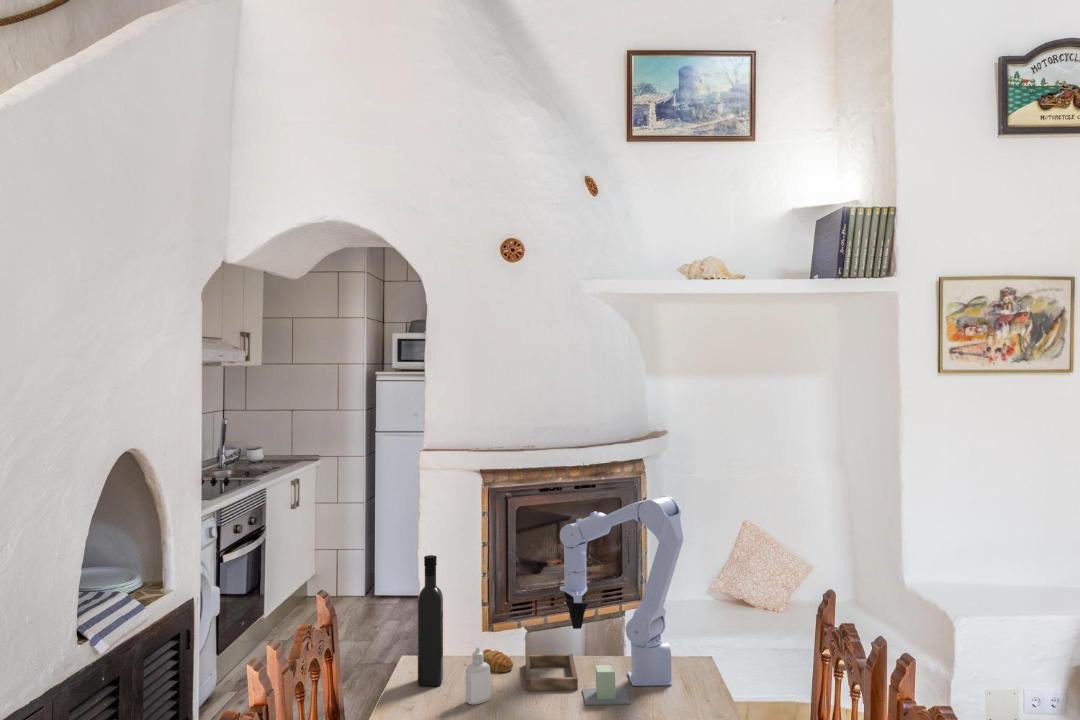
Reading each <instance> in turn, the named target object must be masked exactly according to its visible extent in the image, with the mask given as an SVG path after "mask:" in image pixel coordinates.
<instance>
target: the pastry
mask: <svg viewBox="0 0 1080 720" xmlns="http://www.w3.org/2000/svg"><path fill="white" fill-rule="evenodd" d="M482 652H483V662H485V663H487V664H489V666H490V672H493V673H494V672H495V673H507V672H509V671H510V670H512V669H513V666H514V662H513V661H512V660H511V658H510V657H508V655H506V654H504V652H502V651H499V650H497V649H495V650H492V649H488V648H486V649H484V650H483V651H482Z"/></svg>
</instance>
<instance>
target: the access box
mask: <svg viewBox="0 0 1080 720" xmlns="http://www.w3.org/2000/svg"><path fill="white" fill-rule="evenodd" d="M574 659H575V658H574V655H573V653H572V654H571V653H563V654H561V653H560V654H525V682H526V683H525V685H526V686H525V687H526V692H527V691H531V692H532V691H534V692H535V691H572V690H573V691H574V690H575V691H576V690H579V678H578V674H577V669H576V664H575V660H574ZM559 666H560V667H563V666H566V667H569V673H570V677H569V676H568V677H563V676H562V677H561V676H560V677H559V676H558V677H531V667H559Z"/></svg>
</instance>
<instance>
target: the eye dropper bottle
mask: <svg viewBox="0 0 1080 720" xmlns="http://www.w3.org/2000/svg"><path fill="white" fill-rule="evenodd" d="M480 647H481V646H476V647H475V651H474V652H472V663H471V664H469V665H468V666H467V667H466V668H465V702H466V703H467V704H469V705H471V706H472V705H474V706H475V705H480V704H484V703H486V702H488V701H489V700H490V699H491V671H490V666H489V664H487V663H485V662H483V651H482V650H481V649H480Z"/></svg>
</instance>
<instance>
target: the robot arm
mask: <svg viewBox="0 0 1080 720" xmlns="http://www.w3.org/2000/svg"><path fill="white" fill-rule="evenodd" d="M681 515H682V510H681V508H680V506H679V505H678V503H677V502H676V500H675V499H674V498H673V497H671V496H670V495H661V496H659V497H655V498H653V497H652V498H649V499H644V500H641V501H639V500H638V501H637V502H633V503H630V504H627V505H626V506H624V507H620V508H618V509H617V510H614V511H613V512H612V511H611V512H610V513H608V514H606V513H603V512H600V511H598V512H597V511H593V512H590V514H589V516H586V517H585V518H577V519H576V520H575V522H574V523H573V522H572V523H569V524H568V523H567V524H565V525H564V526H563V527H561V529H560V532H559V540H560V542H561V544H562V545H563V555H564V556H563V560H564V563H563V564H564V565H563V567H564V568H563V569H564V570H563V571H564V574H563V575H564V576H563V577H564V579H563V580H564V585H562V586H559V591H560V592H563V594H564V597H565V598H566V599H565V604H566V606H567V608H568V612H569V618H570V621H571V625H572V629H573V630H574V629H575V630H578V629H581V630H582V627H583V622H584V617H585V612H586V609H587V607H588V606H589V600H583V599H584V596H585V594H587V593H586V592H587V591H588V585H587V584H588V583H587V581H588V580H587V578H588V577H587V549H588V542H590V541H594V540H596V539H599V538H601V537H603V536H606V535H609V533H610V532H611V529H612V527H614V526H617V525H619V524H620V525H621V524H622V523H624V522H625V523H626V522H628V521H631V520H634V521H636V522H638V523H639V522H641V523H642V524H643V526H645V527H646V528H647V529H648V530H649V531H650V532H651V533H652V534H653V535H654V536H655V538H656V539H657V541H658V544H657V545H658V546H657V548H656V551H655V554H654V559H653V561H652V565H651V568H650V572H649V575H648V579H647V582H646V585H645V588H644V591H643V595H642V597H641V602H640V603H639V604H638V606H637V607H636V609H635V610H634V612H633V615H632V618H631V619H630V620H629V621H627V624H626V625H625V633H626V637H627V639H628V640H629V642H630V663H631V664H630V665H631V666H630V669H631V671H629V670H628V671H627V675H628V677H629V681H630V683H631V685H632V686H634V687H641V686H643V687H645V686H673V682H672V681H673V679H672V678H673V677H672V676H673V675H672V652H671V645H670V642H668V641H663V640H662V635H663V633H664V631H665V630H666V620H665V619H666V618H665V617H666V613H667V610H666V609H665V607H664V606H665V601H666V598H667V596H668V592H669V588H670V585H671V582H672V579H673V576H674V572H675V569H676V565H677V562H678V559H679V555H680V552H681V550H682V547H683V546H682V545H683V543H684V533H683V528H682V522H681Z"/></svg>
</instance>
